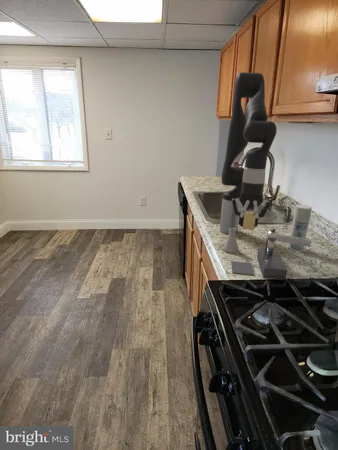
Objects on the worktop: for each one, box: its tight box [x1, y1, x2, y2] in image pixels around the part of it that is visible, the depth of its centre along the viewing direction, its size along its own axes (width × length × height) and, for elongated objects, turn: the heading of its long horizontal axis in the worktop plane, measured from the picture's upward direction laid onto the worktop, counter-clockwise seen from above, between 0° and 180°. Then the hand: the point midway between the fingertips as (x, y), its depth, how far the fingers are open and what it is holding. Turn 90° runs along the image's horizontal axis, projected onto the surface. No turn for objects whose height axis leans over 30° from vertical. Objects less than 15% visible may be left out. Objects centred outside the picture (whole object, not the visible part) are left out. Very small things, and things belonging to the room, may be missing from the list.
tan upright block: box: [241, 210, 256, 231], centre depth 110 cm, size 5×4×6 cm
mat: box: [230, 260, 255, 276], centre depth 117 cm, size 10×8×1 cm
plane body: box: [256, 238, 288, 281], centre depth 116 cm, size 18×8×10 cm, turn 171°
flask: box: [221, 228, 239, 254], centre depth 131 cm, size 7×7×10 cm
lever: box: [267, 228, 312, 248], centre depth 116 cm, size 16×4×4 cm, turn 63°
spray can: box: [288, 204, 313, 252], centre depth 134 cm, size 6×6×20 cm
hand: (247, 226), depth 111 cm, fingers closed on tan upright block, 4 cm apart
